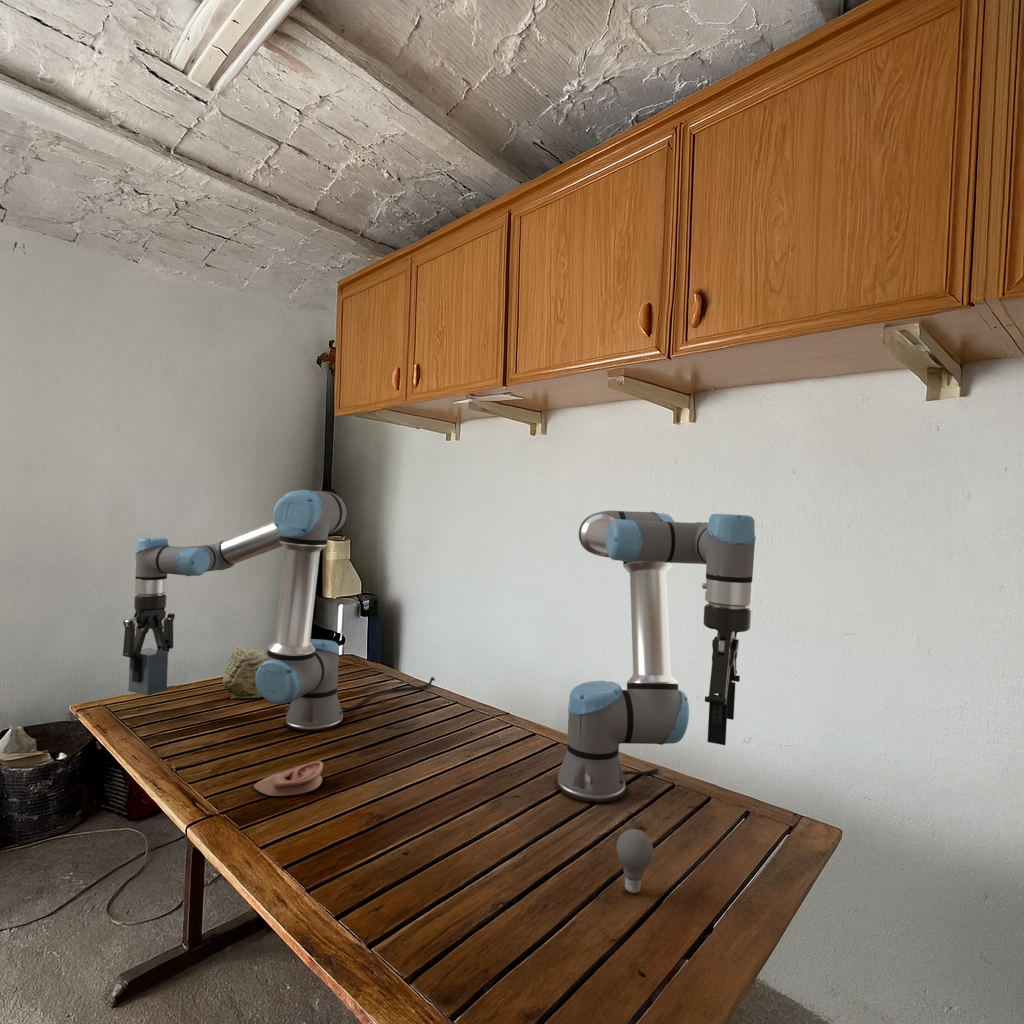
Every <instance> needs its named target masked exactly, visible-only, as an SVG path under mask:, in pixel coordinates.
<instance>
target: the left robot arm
mask: <svg viewBox="0 0 1024 1024" xmlns="http://www.w3.org/2000/svg"><path fill="white" fill-rule="evenodd" d="M346 519H347V507H346V505H345V502H344V501H343V499H342V498H341V497H340V496H338V495H337V494H335V493H334V492H331V491H327V490H309V489H299V490H292V491H289V492H287V493H285V494H284V495H283V496H281V497H280V498H279V499H278V501H277V502H276V504H275V506H274V508H273V511H272V521H269V522H267V523H264V524H262V525H259V526H256V527H254V528H251V529H248V530H246V531H244V532H241V533H238V534H236V535H233V536H231V537H228V538H226V539H224V540H220V541H218V542H215V543H212V544H206V545H194V546H192V545H191V546H172V545H170V544H169V540H168V538H167V537H161V536H159V537H157V536H155V537H154V536H149V537H141V538H138V540H137V541H136V549H135V578H134V581H135V582H134V593H135V594H136V595H135V596H134V605H133V606H134V611H135V612H134V614H133V617H131V618H129V619H123V622H122V623H123V628H124V635H123V648H122V657H125V658H129V659H130V669H131V670H132V681H134V682H138V683H140V682H141V680H142V658H140V657H139V656H140V653H141V650H142V649H143V646H144V642H145V639H146V635H147V634H148V633H149V631H150V630H152V633H153V638H154V641H155V644H156V649H158V650H163V651H168V653H169V652H170V650H172V649H174V621H175V617H176V614H175V613H172V612H166V610H165V609H166V607H167V595H166V593H167V592H168V575H177V576H186V577H199V576H202V575H204V573H208V572H213V571H225V570H227V569H230V568H233V567H234V566H235V565H236V564H238V563H241V562H243V561H246V560H249V559H251V558H254V557H257V556H260V555H262V554H265V553H268V552H271V551H273V550H276V549H279V548H282V547H283V548H284V553H283V562H282V571H281V581H280V591H279V600H278V608H277V619H276V628H275V636H274V637H275V638H274V641H272V643H270V644H269V645H268V646H267V652H266V654H267V659H266V661H265V662H264V663H263V664H262V665H261V666H260V667H259V668H258V670H257V673H256V686H257V689H258V691H259V692H260V693H261V694H262V695H263V697H262V698H264V699H265V700H266V701H267V702H269V703H271V704H274V705H285V704H288V703H290V704H289V706H286V707H285V712H287V713H286V715H285V726H286V728H287V729H289V730H291V731H294V732H295V731H296V732H301V733H316V732H325V731H329V730H332V729H335V728H337V727H339V726H340V725H342V723H343V722H344V714H343V711H351V710H353V709H355V708H357V707H359V706H361V705H362V704H364V703H366V702H367V701H369V700H370V699H371V698H373V697H374V696H376V695H380V694H384V693H392V692H400V691H409V690H420V689H425V688H426V689H427V688H428V687H430V686H431V685H432V683H433V681H434V682H435V681H436V679H435V678H434V677H433V676H431V677H430V680H429V682H428V683H427V684H425V685H424V684H423V685H417V686H406V687H399V688H398V687H397V688H388V689H383V690H378V691H376V692H372V693H371V694H369V695H368V696H367V697H365V698H364V699H362V700H360V701H359V702H357V703H356V704H353V705H351V706H341V702H340V699H339V695H338V682H339V662H340V661H339V660H340V652H339V651H340V650H339V648H340V646H339V643H337V641H335V640H330V639H317V638H311V637H312V628H313V627H312V626H313V618H314V609H315V600H316V590H317V583H318V574H319V564H320V555H321V551H322V550H323V549H324V548H325V547H327V546H328V538H329V535H331V534H333V533H336V532H337V531H338V530H340V529H341V528H342V527H343V525H344V524H345V521H346Z"/></svg>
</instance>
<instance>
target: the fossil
mask: <svg viewBox="0 0 1024 1024" xmlns="http://www.w3.org/2000/svg"><path fill="white" fill-rule="evenodd" d="M266 659H267V652H265V650H264V649H263V648H260V647H258V648H251V647H247V646H246V647H245V646H238V647H237V648H236V649H235V650H233V651H232V653H231V656H230V657H229V659H228V660H227V663H226V666H225V668H224V671H223V675H222V676H223V677H222V685H223V687H224V688H225V690H226V691H228V693H229V698H230V699H250V698H264V697H263V695H262V694H261V693H260V692H259V691H258V689H257V686H256V673H257V670H258V668H259V667H260V666H261V665H262V664H263V663H264V662H265V661H266Z"/></svg>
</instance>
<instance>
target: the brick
mask: <svg viewBox="0 0 1024 1024" xmlns="http://www.w3.org/2000/svg"><path fill="white" fill-rule="evenodd" d="M139 657H140V658H142V680H141V682H140V683H138V682H134V681H132V670H131V669H130V658H129V665H128V692H131V693H135V694H139V695H143V696H151V695H155V694H159V693H162V692H165V691H167V690H168V668H169V667H168V666H169V652H168V651H163V650H158V649H157V648H152V647H146V648H142V650H141V653H140V656H139Z"/></svg>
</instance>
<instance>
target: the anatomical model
mask: <svg viewBox="0 0 1024 1024" xmlns="http://www.w3.org/2000/svg"><path fill="white" fill-rule="evenodd" d="M323 768H324V763H323V761H321V760H318V761H312V762H309V763H306V764H303V765H299V766H297V767H294V768H291V769H288V770H286V771H283V772H278V773H275V774H272V775H269V776H267V777H265V778H263V779H260V780H259V781H257V782H256V783H255V784H254V785H253V788H254V789H255V790H256V791H257V792H259V793H261V794H264V795H266V796H268V797H269V796H270V797H284V796H295V795H301V794H305V793H308V792H312V791H315V790H316V789H317V788H319V787H320V786H321V784H322V783H323V777H322V775H321V774H322V771H323Z"/></svg>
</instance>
